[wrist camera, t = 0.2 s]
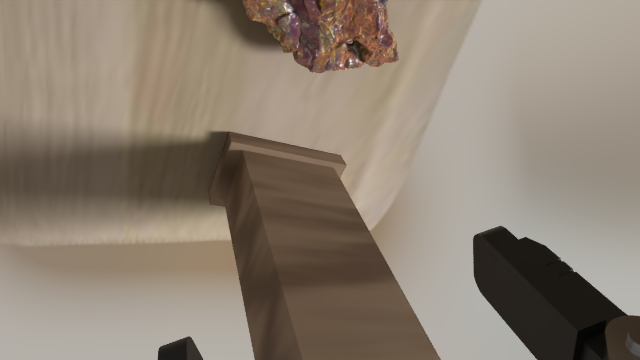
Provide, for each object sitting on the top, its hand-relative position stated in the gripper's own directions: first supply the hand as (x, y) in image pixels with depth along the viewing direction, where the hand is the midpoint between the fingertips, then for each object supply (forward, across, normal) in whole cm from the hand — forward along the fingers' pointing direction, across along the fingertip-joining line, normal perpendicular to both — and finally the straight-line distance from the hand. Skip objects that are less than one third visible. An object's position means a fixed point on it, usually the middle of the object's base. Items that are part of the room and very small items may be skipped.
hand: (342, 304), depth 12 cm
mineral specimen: (+23, -7, -5) cm, 24 cm away
